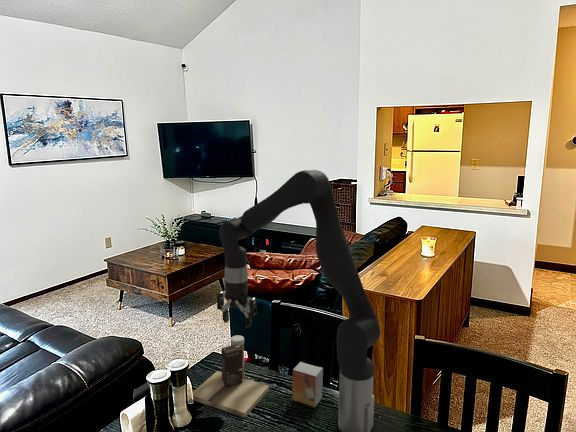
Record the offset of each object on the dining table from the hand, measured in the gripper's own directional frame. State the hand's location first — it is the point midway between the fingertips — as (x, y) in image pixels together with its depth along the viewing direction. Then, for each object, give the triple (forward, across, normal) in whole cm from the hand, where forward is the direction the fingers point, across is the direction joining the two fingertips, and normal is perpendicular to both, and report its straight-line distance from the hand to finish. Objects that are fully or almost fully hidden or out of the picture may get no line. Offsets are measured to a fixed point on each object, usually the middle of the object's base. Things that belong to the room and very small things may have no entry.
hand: (237, 324), depth 141 cm
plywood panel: (+18, -4, +11) cm, 22 cm away
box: (+17, -2, +7) cm, 19 cm away
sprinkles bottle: (+19, 0, 0) cm, 19 cm away
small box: (+18, -27, +3) cm, 33 cm away
